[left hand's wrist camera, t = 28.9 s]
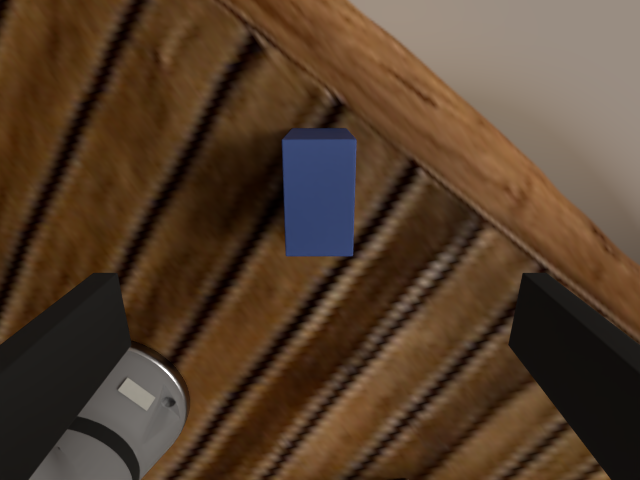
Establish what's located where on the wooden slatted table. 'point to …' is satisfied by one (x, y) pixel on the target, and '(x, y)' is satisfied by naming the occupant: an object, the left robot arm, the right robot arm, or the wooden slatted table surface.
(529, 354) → the left robot arm
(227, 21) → the wooden slatted table surface
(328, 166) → the brick
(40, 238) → the wooden slatted table surface
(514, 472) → the wooden slatted table surface
